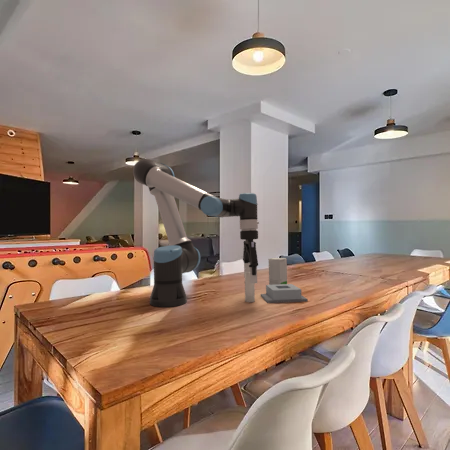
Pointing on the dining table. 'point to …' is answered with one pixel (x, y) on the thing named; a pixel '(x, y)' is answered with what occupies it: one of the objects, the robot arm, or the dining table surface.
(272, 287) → the socket
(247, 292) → the dowel
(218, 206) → the robot arm
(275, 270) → the skincare box
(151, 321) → the dining table surface
